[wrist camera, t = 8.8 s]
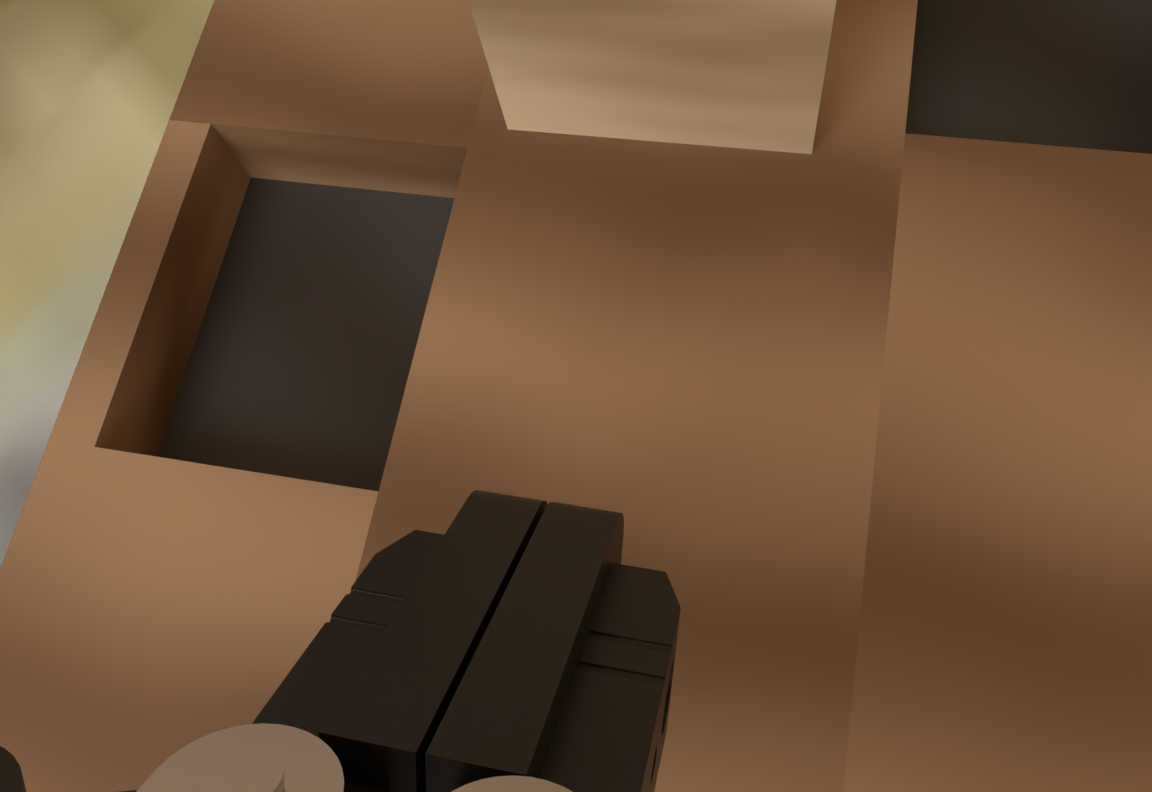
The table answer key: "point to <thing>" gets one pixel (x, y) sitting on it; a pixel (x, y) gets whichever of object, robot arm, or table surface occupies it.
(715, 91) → the maple block
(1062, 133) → the trap deck
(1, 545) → the table surface
